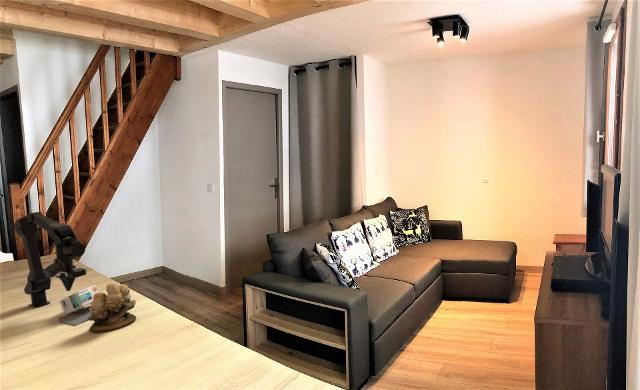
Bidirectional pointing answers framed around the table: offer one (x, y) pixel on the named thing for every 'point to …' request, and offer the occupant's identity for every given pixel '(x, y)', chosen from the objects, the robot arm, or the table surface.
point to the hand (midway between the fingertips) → (68, 291)
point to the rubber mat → (77, 318)
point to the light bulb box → (78, 300)
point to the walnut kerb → (74, 312)
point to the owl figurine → (111, 309)
